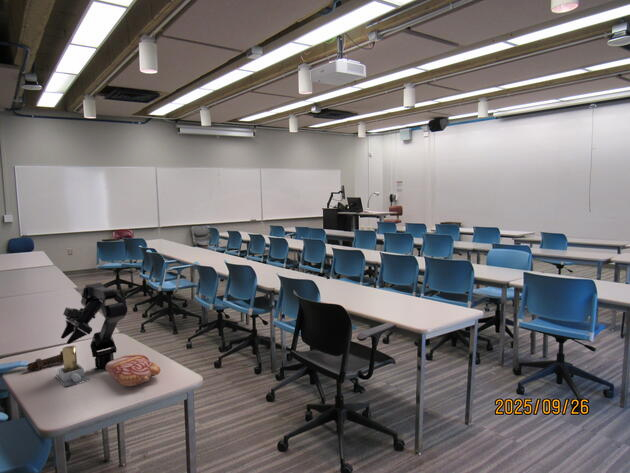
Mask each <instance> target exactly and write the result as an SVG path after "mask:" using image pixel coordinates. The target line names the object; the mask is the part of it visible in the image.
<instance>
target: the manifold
mask: <svg viewBox="0 0 630 473" xmlns="http://www.w3.org/2000/svg"><path fill="white" fill-rule="evenodd" d="M77 367H78V370H75V371H71V372H68V373H65V372H64V366H63V367H61V368H58V370H57V371H58V373H57V374H55V377H56V376H57V377H58V378H57V377H56V378H57V380H58V381H59V380H60V381H61V382H62V383H63V384H64V385H63V384H62V383H61V382H60V381H59V382H60V383H61V384H62V385H63V386H64V387H65V388H67V387H66V386H69V385H72V386H74V385H73V384H76V383H79V382H82V381H86V380H89V381H91V378H90V377H89V376H88V375H87V374H85V371H84V367H83V366H82V365H81V364H79V363H77ZM86 382H87V381H86ZM82 383H83V382H82ZM79 384H80V383H79ZM76 385H77V384H76ZM69 387H70V386H69Z"/></svg>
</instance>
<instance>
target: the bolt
mask: <svg viewBox="0 0 630 473" xmlns="http://www.w3.org/2000/svg"><path fill="white" fill-rule="evenodd" d="M58 363H62V364H64V361H63V350H60V352H59V354H57V355H54V356H51V357H47V358H43V359H42V358H36V359H35V361H33V362H30V363H28V364H27V365H26V370H27V371H33V370H37V371H40V370H42V368H43V369H44V367H47V366H50V365H53V364H58ZM39 369H40V370H39Z"/></svg>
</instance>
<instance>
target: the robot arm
mask: <svg viewBox="0 0 630 473" xmlns="http://www.w3.org/2000/svg"><path fill="white" fill-rule="evenodd" d="M113 299H114V301H115V302H117V303H112V304H107V305H106V301H107V300H113ZM80 303H81V306H83V307H80V308H79V309H78V308H73V307H72V308H70V307H65V309H64V312H63V316H64V317H65V323H66V324H65V328H64V330H63V332H62V334H61V336H60V339H65V338H67V337H68V336H69V338H68V339H67V342H66V344H68V345H70V344H72V343H74V342H75V341H77V340H80V339H81V338H84V337H85V336H88V335H90V334H91V333H92V332H93V327H91V326H90V324H89V323H90V322H91V321H92V320H93V319H96V316H97V313H98V312H99V311H100V310H101V311H102V315H103V317H104V321H103V323H102V326H101V328H100V331H98V332H95V333H93V336H92V340H91V341H90V345H89V346H90V350H91V354H92V356H91V357H92V358H94V364H95V369H94V371H106V369H105V368H106V364H107V363H108V362H110V361H112V360H114V354H115V353H117V347H116V344H115V341H114V337H113V334H114V332H115V330H116V327H117V325H118V322H119V321H122V320H123V319H124V318H125V317H126V316H127V313H128V306H127V304H126V301H125V299H124V298H123V297H122V296H120V295H119V294H118V293H117V291H116V289H113V288H112V289H111V288H108V287H105V286H104V284H103V283H101V282H98V283H89V284H85V285H84V287H83V289H82V292H81V299H80Z"/></svg>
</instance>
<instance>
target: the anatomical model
mask: <svg viewBox="0 0 630 473" xmlns="http://www.w3.org/2000/svg"><path fill="white" fill-rule="evenodd" d="M105 369H106V370H105V371H106V372H107V373H108V375H109V376H110V377H111V378H113V379H114V380H115V381H116V382H117V383H119V384H120V385H123V386H124V387H125V386H126V387H133V386H137V385H140V384H143V383H145V382H148V381H149V380H150V378H153V377H154V376H157V375H159V374H160V373H161V367H160V365H158V364H157V363H155V362H152V361H151V360H149V358H148V357H147V356H146V355H144V354H140V353H134V354H133V353H132V354H125V355H123V356H120V357H118V358H115V359H114V360H112V361H110V362H108V363H107V364H106V368H105Z"/></svg>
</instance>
